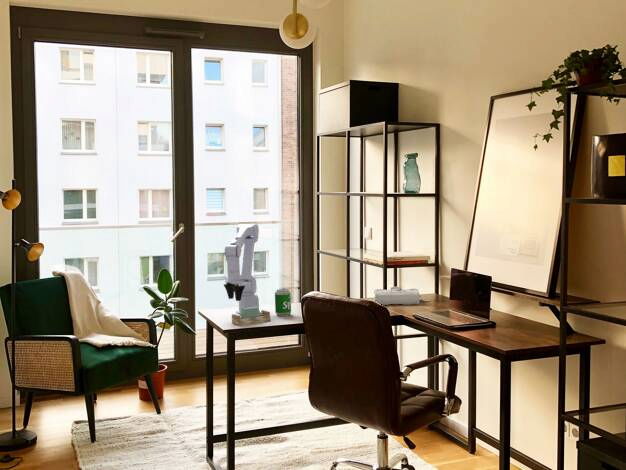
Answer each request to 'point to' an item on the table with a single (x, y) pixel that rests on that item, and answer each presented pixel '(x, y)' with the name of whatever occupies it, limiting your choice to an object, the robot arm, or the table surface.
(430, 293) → the table surface
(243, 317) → the door panel
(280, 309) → the soda can
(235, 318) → the track sill
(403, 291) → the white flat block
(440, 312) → the table surface
